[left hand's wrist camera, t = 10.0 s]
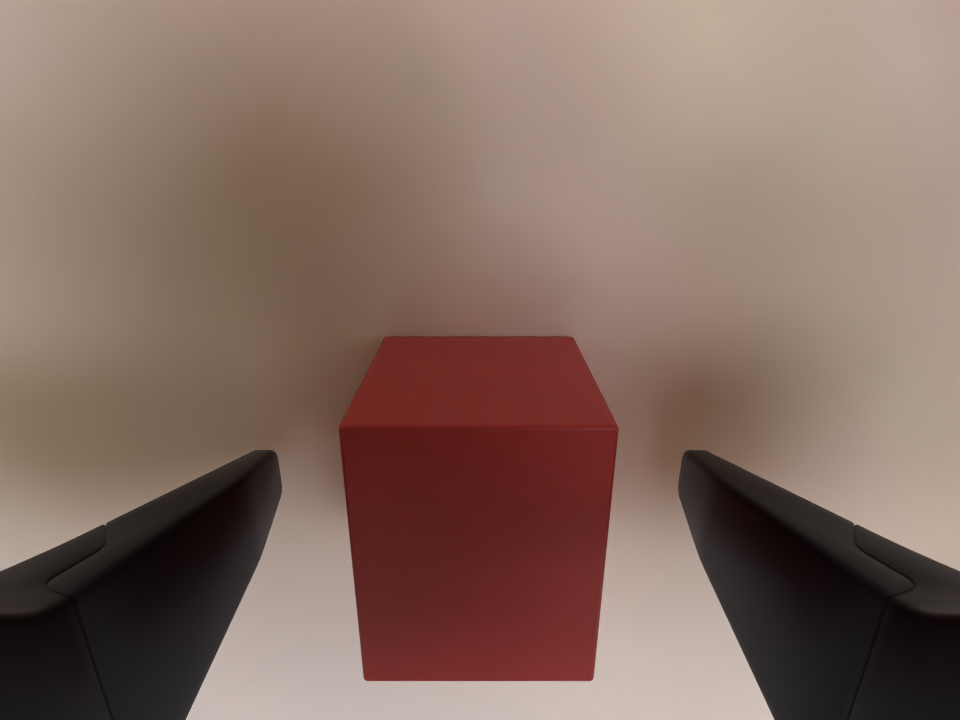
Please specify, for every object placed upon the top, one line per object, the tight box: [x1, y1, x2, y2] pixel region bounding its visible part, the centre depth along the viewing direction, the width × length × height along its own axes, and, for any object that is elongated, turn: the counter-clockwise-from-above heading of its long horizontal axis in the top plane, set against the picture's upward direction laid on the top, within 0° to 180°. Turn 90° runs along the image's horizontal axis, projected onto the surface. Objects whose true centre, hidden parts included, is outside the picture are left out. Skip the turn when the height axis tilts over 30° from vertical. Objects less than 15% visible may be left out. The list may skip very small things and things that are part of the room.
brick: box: [339, 337, 618, 681], centre depth 11 cm, size 5×4×4 cm
